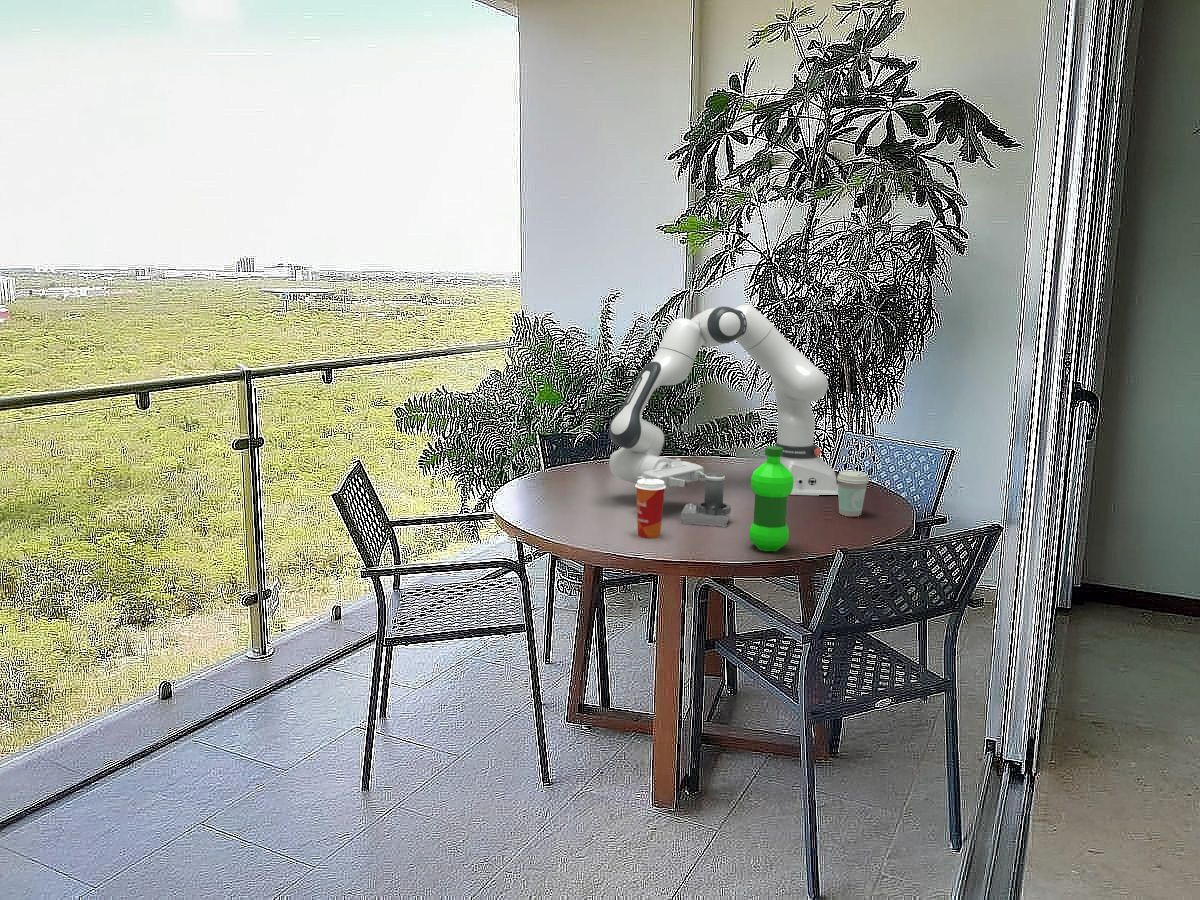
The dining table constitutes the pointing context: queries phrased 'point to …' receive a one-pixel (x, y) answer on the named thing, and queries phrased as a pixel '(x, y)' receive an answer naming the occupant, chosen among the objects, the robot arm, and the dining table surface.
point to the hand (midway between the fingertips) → (696, 481)
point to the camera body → (705, 515)
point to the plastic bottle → (771, 502)
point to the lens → (714, 490)
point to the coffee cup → (851, 492)
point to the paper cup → (649, 507)
